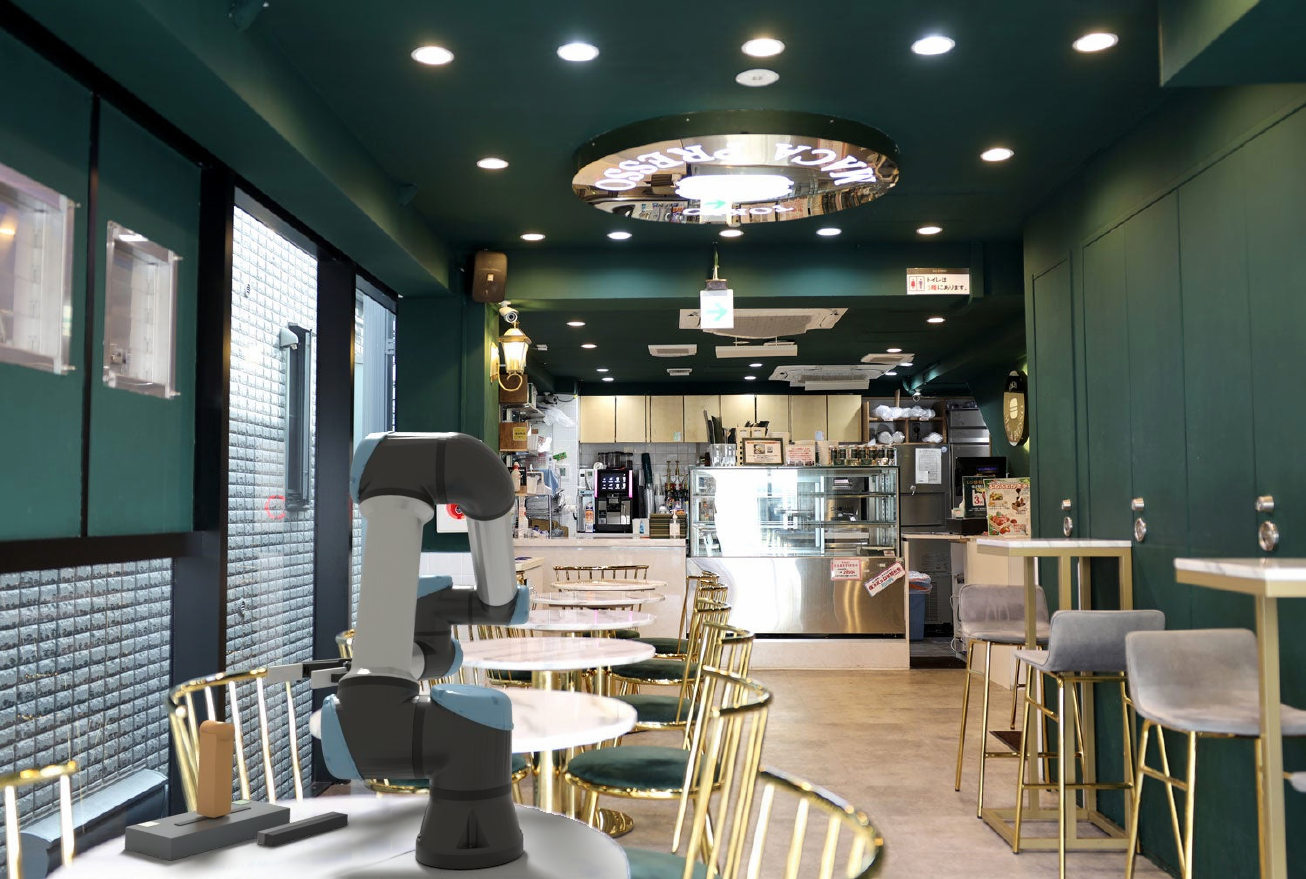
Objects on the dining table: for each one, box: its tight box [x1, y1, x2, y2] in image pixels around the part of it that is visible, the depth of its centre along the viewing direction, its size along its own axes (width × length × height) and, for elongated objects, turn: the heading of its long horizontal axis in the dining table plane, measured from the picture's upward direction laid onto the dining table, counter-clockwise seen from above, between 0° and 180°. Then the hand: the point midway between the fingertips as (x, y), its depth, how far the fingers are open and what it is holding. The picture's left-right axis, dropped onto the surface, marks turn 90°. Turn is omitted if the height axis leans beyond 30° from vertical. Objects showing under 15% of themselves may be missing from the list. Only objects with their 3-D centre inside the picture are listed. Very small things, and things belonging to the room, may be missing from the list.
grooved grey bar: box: [256, 811, 349, 848], centre depth 160 cm, size 3×14×2 cm, turn 148°
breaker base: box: [124, 798, 291, 861], centre depth 158 cm, size 11×20×3 cm, turn 148°
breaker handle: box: [196, 719, 236, 818], centre depth 159 cm, size 5×3×14 cm, turn 58°
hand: (290, 677), depth 171 cm, fingers open, 10 cm apart
